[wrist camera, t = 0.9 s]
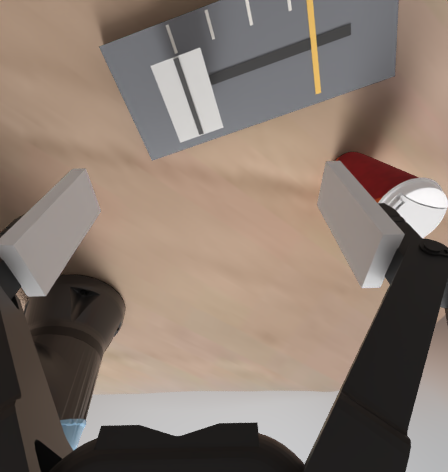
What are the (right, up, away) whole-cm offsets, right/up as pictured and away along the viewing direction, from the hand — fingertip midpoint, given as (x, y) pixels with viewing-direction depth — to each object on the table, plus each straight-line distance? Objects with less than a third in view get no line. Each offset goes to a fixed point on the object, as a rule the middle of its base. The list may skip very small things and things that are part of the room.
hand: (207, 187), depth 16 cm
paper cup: (+19, +7, +24) cm, 32 cm away
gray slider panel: (+4, +17, +15) cm, 23 cm away
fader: (-3, +13, +14) cm, 19 cm away
